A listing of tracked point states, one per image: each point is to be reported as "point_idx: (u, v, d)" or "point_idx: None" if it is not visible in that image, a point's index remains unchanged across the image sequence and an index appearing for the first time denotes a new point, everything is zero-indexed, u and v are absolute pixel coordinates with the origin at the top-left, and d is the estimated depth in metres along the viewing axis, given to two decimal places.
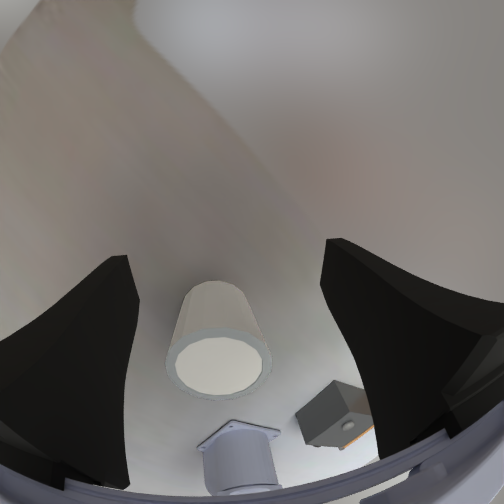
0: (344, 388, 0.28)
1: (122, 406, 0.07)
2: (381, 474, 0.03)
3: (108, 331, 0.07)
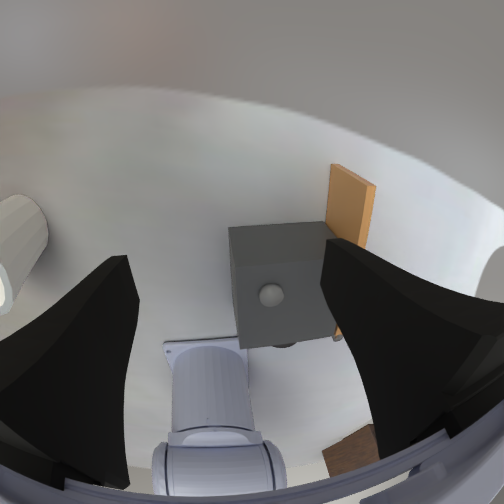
0: (250, 233, 0.18)
1: (122, 406, 0.07)
2: (381, 474, 0.03)
3: (108, 331, 0.07)
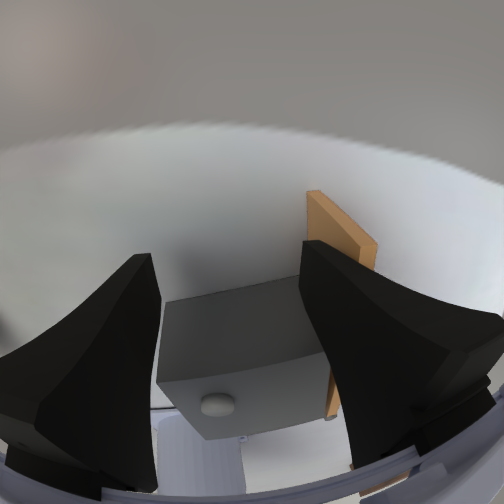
0: (189, 312, 0.13)
1: (148, 407, 0.07)
2: (381, 474, 0.03)
3: (136, 331, 0.07)
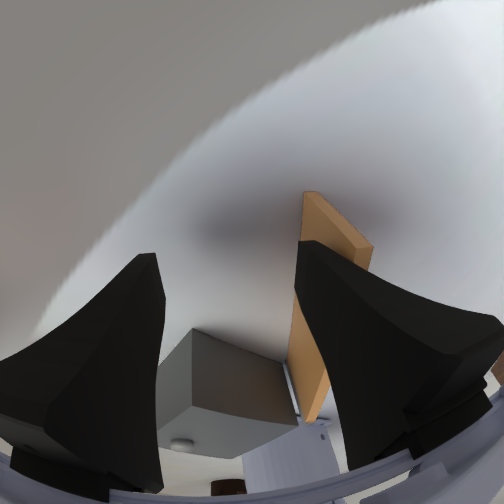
0: None
1: (154, 407, 0.07)
2: (381, 474, 0.03)
3: (142, 330, 0.07)
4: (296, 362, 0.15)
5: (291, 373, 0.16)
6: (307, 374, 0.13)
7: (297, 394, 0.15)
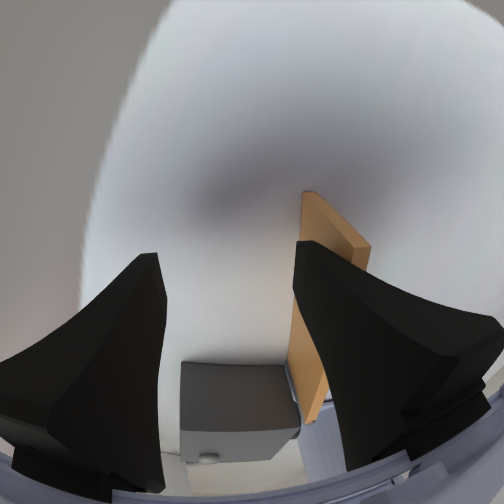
0: None
1: (156, 407, 0.07)
2: (381, 474, 0.03)
3: (144, 330, 0.07)
4: (296, 362, 0.15)
5: (291, 373, 0.16)
6: (307, 374, 0.13)
7: (298, 394, 0.15)
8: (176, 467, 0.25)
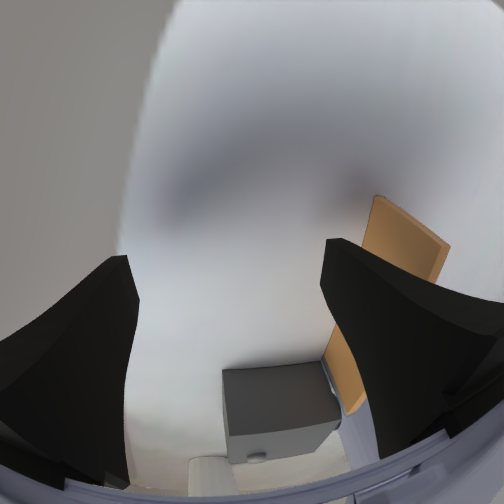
0: None
1: (122, 405, 0.07)
2: (381, 474, 0.03)
3: (108, 331, 0.07)
4: (341, 355, 0.15)
5: (330, 367, 0.17)
6: None
7: (338, 387, 0.15)
8: (222, 469, 0.26)
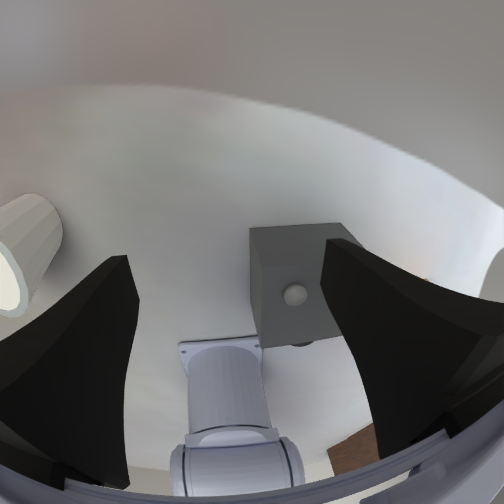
0: (271, 234, 0.19)
1: (122, 405, 0.07)
2: (381, 474, 0.03)
3: (108, 331, 0.07)
4: None
5: None
6: None
7: None
8: (53, 253, 0.16)
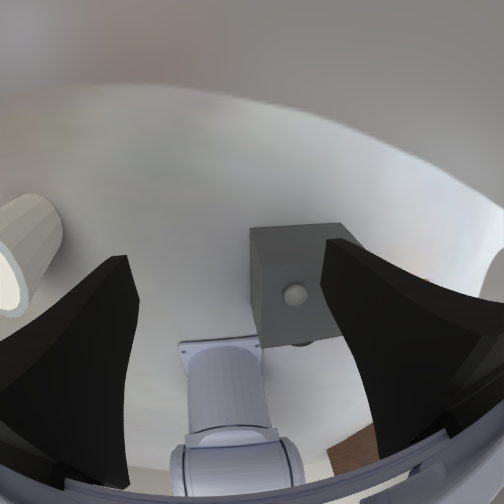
0: (272, 234, 0.19)
1: (122, 405, 0.07)
2: (381, 474, 0.03)
3: (108, 331, 0.07)
4: None
5: None
6: None
7: None
8: (53, 252, 0.16)
